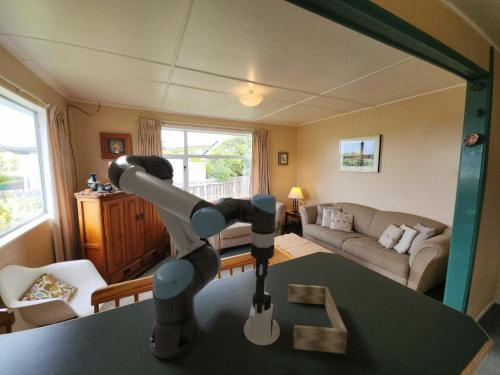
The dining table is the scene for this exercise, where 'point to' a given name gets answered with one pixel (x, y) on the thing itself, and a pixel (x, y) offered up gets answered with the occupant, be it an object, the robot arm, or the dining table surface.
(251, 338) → the saucer
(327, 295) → the cubby
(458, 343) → the dining table surface
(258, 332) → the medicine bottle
